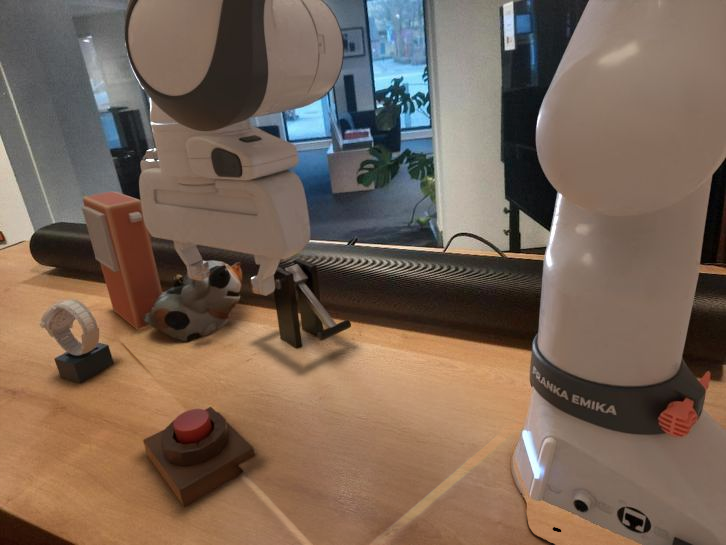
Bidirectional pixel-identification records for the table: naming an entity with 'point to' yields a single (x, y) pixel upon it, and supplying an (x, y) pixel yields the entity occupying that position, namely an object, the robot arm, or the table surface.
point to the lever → (316, 305)
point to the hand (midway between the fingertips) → (230, 285)
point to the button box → (198, 458)
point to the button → (192, 426)
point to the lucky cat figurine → (197, 303)
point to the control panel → (123, 253)
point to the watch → (76, 341)
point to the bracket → (288, 304)
